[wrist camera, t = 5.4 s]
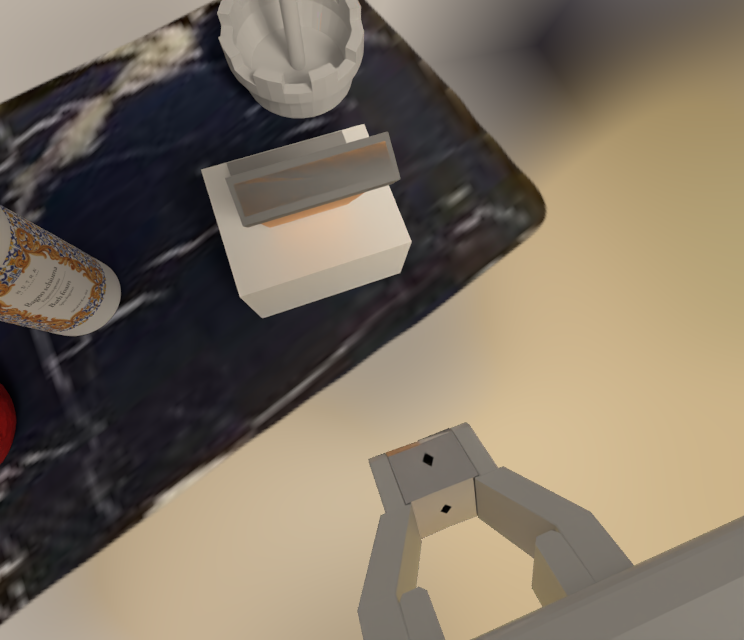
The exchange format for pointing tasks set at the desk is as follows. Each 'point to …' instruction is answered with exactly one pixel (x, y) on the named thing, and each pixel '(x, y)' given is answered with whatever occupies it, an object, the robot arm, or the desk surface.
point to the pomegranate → (6, 422)
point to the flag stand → (293, 51)
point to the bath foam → (52, 281)
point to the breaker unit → (307, 237)
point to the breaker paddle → (313, 182)
